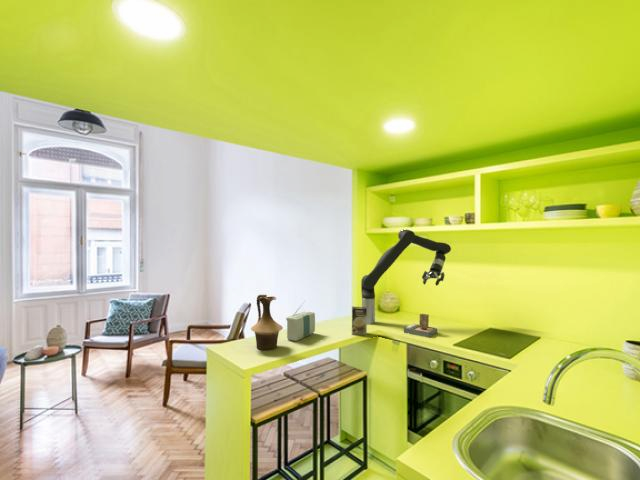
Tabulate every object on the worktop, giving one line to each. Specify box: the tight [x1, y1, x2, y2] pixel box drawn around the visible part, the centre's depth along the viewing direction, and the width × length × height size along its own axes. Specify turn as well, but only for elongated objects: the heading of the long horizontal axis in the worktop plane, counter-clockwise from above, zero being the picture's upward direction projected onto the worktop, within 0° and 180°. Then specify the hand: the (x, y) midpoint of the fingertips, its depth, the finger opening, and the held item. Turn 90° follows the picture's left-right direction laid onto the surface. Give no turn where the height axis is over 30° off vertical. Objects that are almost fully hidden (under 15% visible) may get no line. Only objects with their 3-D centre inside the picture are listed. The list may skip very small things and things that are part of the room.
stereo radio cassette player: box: [285, 300, 316, 342], centre depth 191 cm, size 21×8×20 cm, turn 151°
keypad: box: [403, 322, 438, 338], centre depth 199 cm, size 16×13×4 cm
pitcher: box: [250, 294, 284, 351], centre depth 171 cm, size 18×17×28 cm
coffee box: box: [351, 306, 368, 336], centre depth 197 cm, size 9×6×16 cm
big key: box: [415, 327, 432, 332], centre depth 198 cm, size 9×11×2 cm
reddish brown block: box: [418, 313, 430, 330], centre depth 198 cm, size 4×4×9 cm
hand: (430, 284), depth 216 cm, fingers open, 8 cm apart
